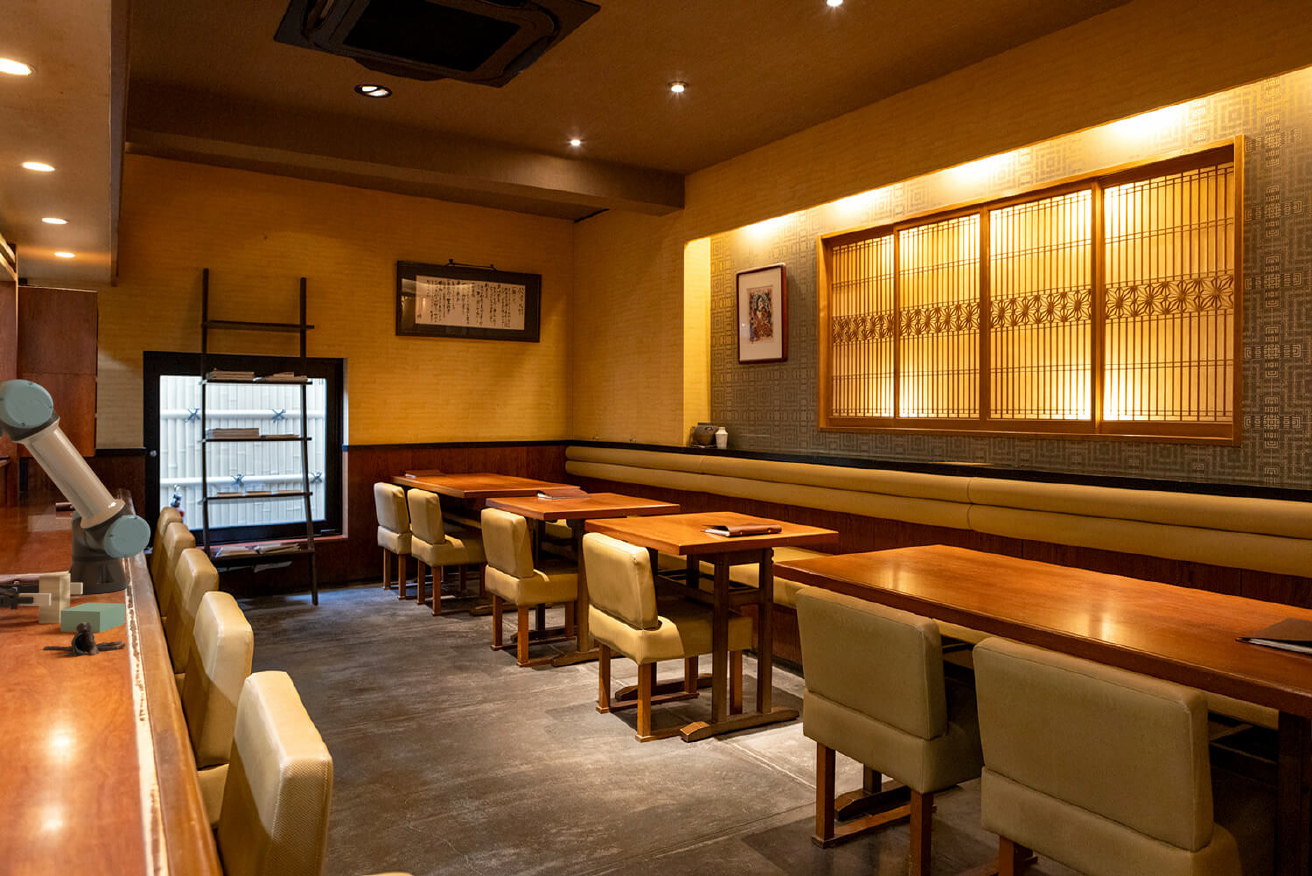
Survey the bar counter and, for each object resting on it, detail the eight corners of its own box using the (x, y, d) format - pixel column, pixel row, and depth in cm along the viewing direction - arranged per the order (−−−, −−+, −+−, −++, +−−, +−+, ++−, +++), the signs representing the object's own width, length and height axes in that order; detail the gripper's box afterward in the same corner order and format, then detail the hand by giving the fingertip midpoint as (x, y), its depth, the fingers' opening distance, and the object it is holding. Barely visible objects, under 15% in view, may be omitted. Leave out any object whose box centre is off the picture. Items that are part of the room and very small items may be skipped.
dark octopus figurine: (126, 648, 182) (69, 620, 177) (94, 690, 180) (35, 663, 175) (127, 635, 193) (73, 608, 187) (96, 675, 190) (41, 649, 185)
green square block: (87, 623, 207) (87, 602, 207) (124, 624, 207) (125, 603, 207) (60, 632, 198) (60, 610, 198) (99, 633, 198) (100, 611, 198)
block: (49, 619, 210) (50, 573, 210) (69, 619, 211) (70, 573, 211) (38, 623, 206) (39, 576, 206) (59, 623, 206) (59, 576, 206)
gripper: (2, 599, 218) (93, 599, 221) (-69, 622, 194) (35, 621, 196) (2, 569, 218) (94, 569, 221) (-68, 588, 194) (35, 587, 196)
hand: (66, 593), depth 208 cm, fingers open, 13 cm apart
